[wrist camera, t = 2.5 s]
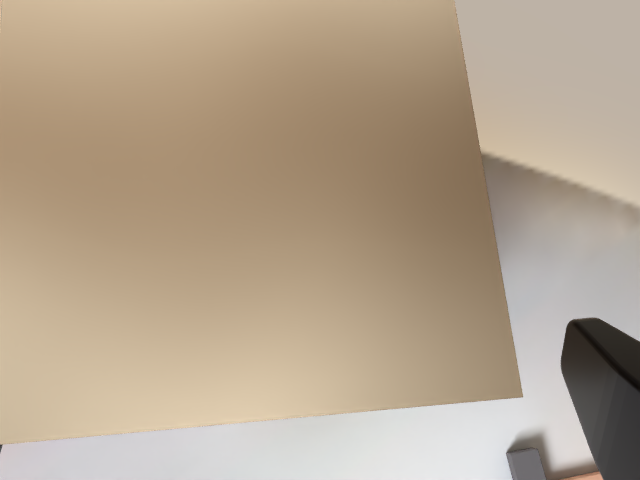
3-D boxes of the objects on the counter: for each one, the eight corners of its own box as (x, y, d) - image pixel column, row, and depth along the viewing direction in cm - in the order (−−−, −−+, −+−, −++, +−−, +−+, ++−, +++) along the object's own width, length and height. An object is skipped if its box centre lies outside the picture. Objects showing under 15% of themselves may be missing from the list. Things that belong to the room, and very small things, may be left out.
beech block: (391, 396, 18) (524, 397, 5) (229, 410, 18) (-28, 447, 5) (373, 239, 19) (443, -61, 7) (222, 253, 19) (3, -19, 7)
